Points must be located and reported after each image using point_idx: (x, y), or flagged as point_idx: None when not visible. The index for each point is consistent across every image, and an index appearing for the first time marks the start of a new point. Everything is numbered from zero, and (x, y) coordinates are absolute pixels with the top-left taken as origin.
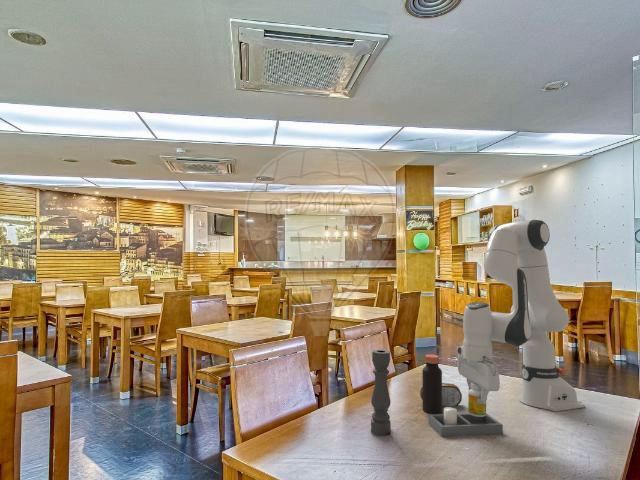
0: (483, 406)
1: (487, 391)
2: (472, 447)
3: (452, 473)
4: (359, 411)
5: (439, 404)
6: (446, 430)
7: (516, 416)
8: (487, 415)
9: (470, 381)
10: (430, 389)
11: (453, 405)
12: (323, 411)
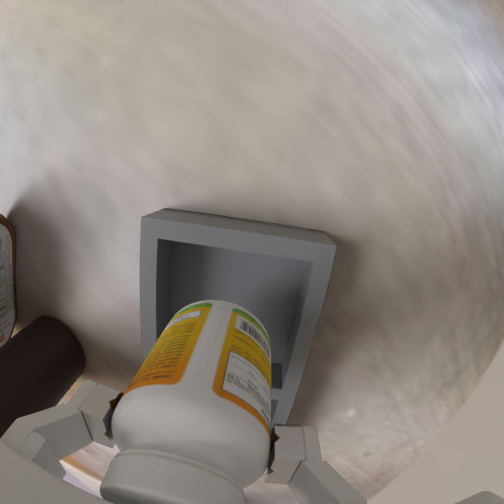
0: (270, 383)
1: (352, 500)
2: (356, 398)
3: (412, 460)
4: (86, 463)
5: (58, 367)
6: None
7: (137, 13)
8: (185, 236)
9: (59, 467)
10: None
11: (10, 240)
12: (98, 490)
